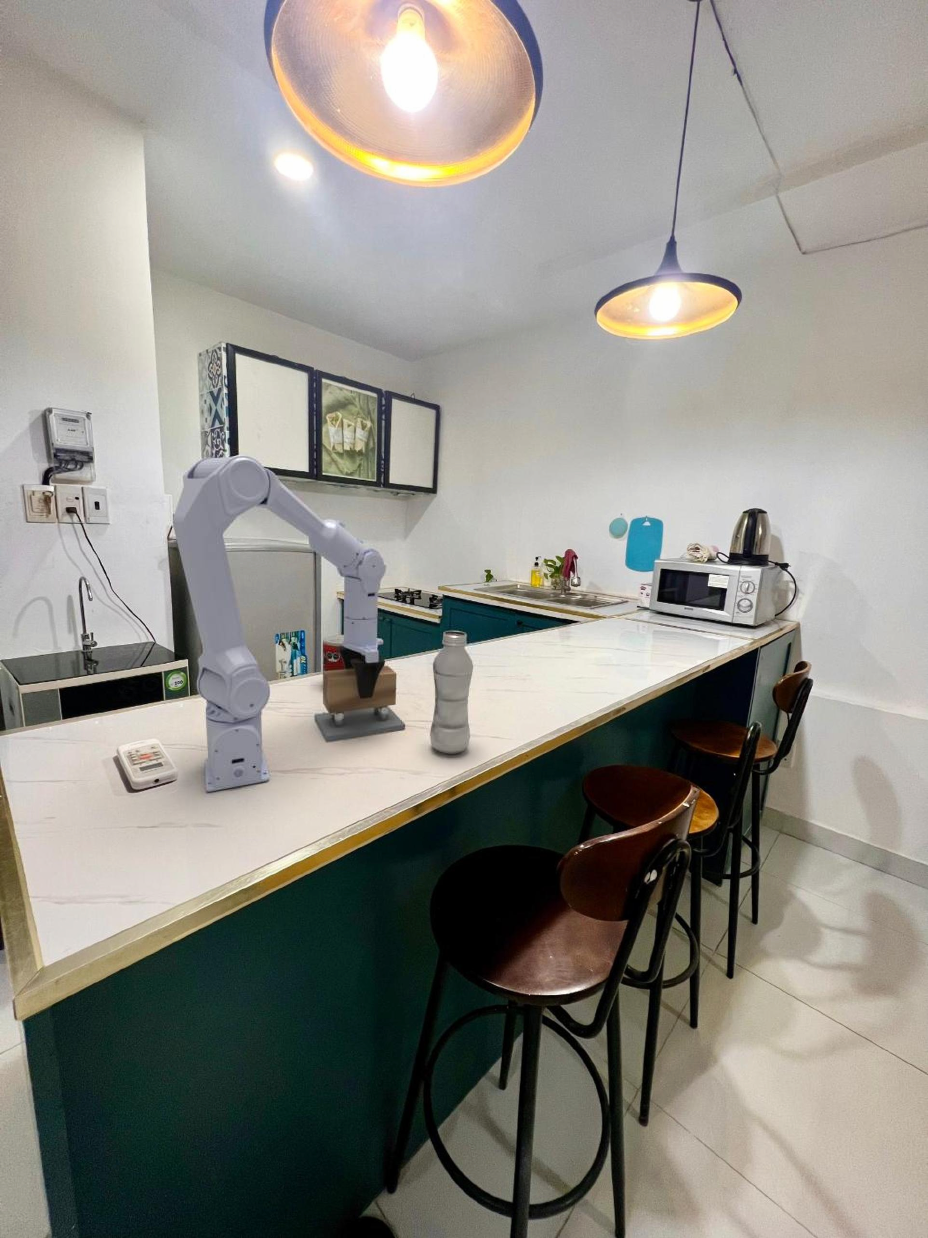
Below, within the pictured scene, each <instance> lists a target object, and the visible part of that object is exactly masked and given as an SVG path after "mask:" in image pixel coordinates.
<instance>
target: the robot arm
mask: <svg viewBox="0 0 928 1238" xmlns="http://www.w3.org/2000/svg"><path fill="white" fill-rule="evenodd" d="M182 481H183V487H182V489H181V493H180V496H179V500H178V502H177V505H176V508H175V511H174V514H173V516H172V517H173V518H172V524H173V525H172V526H173V530H174V535H175V539H176V543H177V546H178V551H179V555H180V559H181V563H182V568H183V572H184V576H185V579H186V583H187V588H188V592H189V596H190V597H189V598H190V601H191V605H192V609H193V613H194V617H195V621H196V625H197V630H198V633H199V637H200V642H201V647H202V653H201V655H200V656H199V657H198V659H197V663H198V669H199V671H198V676H197V680H196V689H197V692H198V694H199V696H200V697H201V698H202V699H204V700H205V701H206V707H205V724H206V725H205V726H206V729H205V730H206V741H207V742H206V745H207V757H206V758H205V760H204V761H205V762H204V764H205V767H204V768H205V791H206V792H214V791H219V790H224V789H231V788H235V787H241V786H246V785H251V784H257V783H261V782H262V783H263V782H267V781H270V774H269V773H270V772H269V769H268V765H267V762H266V761H267V760H266V758H265V754H264V750H263V730H262V729H263V728H262V727H263V724H262V714H263V711H264V708H265V707H266V706H267V704H268V702H269V701H270V696H271V689H270V688H271V687H270V684H269V682H268V680H267V679H266V678H265V677H264V676H263V674H262V673H261V671H260V667H259V663H258V661H257V659H255V657H254V655H253V654H252V652H251V651H250V649H249V648H248V647H247V644H246V639H245V634H244V629H243V624H242V621H241V615H240V610H239V607H238V600H237V597H236V591H235V586H234V582H233V577H232V573H231V568H230V562H229V558H228V553H227V549H226V544H225V539H224V533H225V532H226V531H227V529H228V528H229V527H230V526H231V525H232V523H233V522H234V521H235V520H236V519H237V518H238V517H239V516H240V515H242V514H244V513H246V512H248V511H249V510H251V509H253V508H255V507H257V508H265V509H267V510H268V511H269V512H271V513H273V514H274V515H276V517H278V518H281V520H283V521H285V522H286V523H288V524H289V525H291V526H292V527H293V528H295V529H296V530H298V531H299V532H300V533H302V534H304V535H305V536H307V537H308V545H309V547H310V549H312V551H314V552H315V553H317V554H318V555H319V556H320V557H323V559H325V560H326V561H328V562H329V563H331V564H332V565H334V567H336V570H337V572H338V573H337V574H339V576H340V577H342V578H343V577H344V578H343V580H344V581H343V582H344V583H343V584H344V587H343V589H344V590H343V600H344V601H343V635H344V639H343V646H338V647H337V649H338V651H339V653H340V655H341V657H342V660H343V663H344V667H345V669H354V671H355V674H356V678H357V686H358V693H359V696H360V698H361V699H363V698H371V697H372V696H373V693H374V689H375V685H376V681H377V678H378V676H379V673H380V671H381V670H382V668H383V667H384V666H386V660H385V659H384V658H379V654H380V653H379V652H380V651H379V650H378V647H379V645H383V644H384V640H383V639H382V638H378V609H379V608H378V599H379V595H378V594H379V591H380V589H381V581H382V579H383V577H384V576H385V574H386V570H387V565H386V564H385V562H384V559H383V558H384V557H382V555H381V554H380V552H379V551H377V549H373V548H366V546H365V544H364V541H363V540H362V539H361V538H356V537H355V536H354V535H353V534H351V533H350V532H349V531H348V530H347V529H345V527H346V524H345V523H343V521H341V520H335V519H332V518H329V519H324V520H322V518H321V517H319V515H317V514H316V513H315V512H314V511H313V510H312V509H311V508H310V507H309V506H308V505H306V504H305V503H304V502H303V501H302V500H301V499H300V498H298V497H297V495H295V494H294V493H293V492H292V491H291V490H290V489H289V488H288V487H287V486H286V485H284V484H283V483H282V482H281V481H280V479H279V478H278V476H277V475H276V474H275V472H273V471H271V470H270V469H268V468H265V467H264V466H263V464H262V463H261V462H259V460H257V459H256V458H254V457H252V456H248V455H246V454H245V455H244V454H238V455H235V456H227V457H224V456H223V457H211V456H210V457H204V458H201V459H199V460H198V461H196V462H195V463H194V464H193V465H192V466H191V467H190V468H189V469H188V470H187V471H186V472H185V473H184V474H182Z"/></svg>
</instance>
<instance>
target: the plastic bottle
mask: <svg viewBox="0 0 928 1238" xmlns="http://www.w3.org/2000/svg"><path fill="white" fill-rule="evenodd" d="M467 636H468V635H467V633H466V632H464V631H459V630H447V631H444V632H443V636H442V643H441V644H442V645H443V647H442V648H441V649H440V651H438V653H437V655H436V656H435V657H434V659H433V662H432V673H433V682H434V709H433V717H432V722H431V726H430V731H429V739H430V744H431V745H432V747H433V749H434V750H436V751H437V752H439V753H443V754H450V755H452V754H459V753H462V752H464V751H465V750H466V748H468V746H469V744H470V740H471V739H470V738H471V732H470V731H471V730H470V729H471V728H470V724H469V696H470V695H469V694H470V686H471V681H472V677H473V672H474V671H473V670H474V664H473V660H472V658H471V656H470V654H469V653H468V651H467V650H466V649H465V648H466V646H467V644H468V643H467Z"/></svg>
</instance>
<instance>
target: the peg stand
mask: <svg viewBox="0 0 928 1238" xmlns="http://www.w3.org/2000/svg"><path fill="white" fill-rule="evenodd" d="M314 721H315V723H316V724H317V727H318V729H319V730H320V732H321V734H322V736H323V738H324V740H325V742H326V743H328V742H329V743H330V742H336V741H342V740H347V739H348V740H349V739H354V738H361V737H367V736H372V735H373V736H374V735H379V734H385V733H393V732H398V731H404V730H406V724H405V722H403V720H401V718H400V717H399V716H398V715H397V714H396V713H395V712H394V710H392V709H391V708H390V706H382V707H375V708H367V709H359V710H352V711H344V712H337V713H328V712H324V713H316V714H314Z"/></svg>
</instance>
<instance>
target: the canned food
mask: <svg viewBox="0 0 928 1238" xmlns="http://www.w3.org/2000/svg"><path fill="white" fill-rule="evenodd" d="M343 639H344V634H335V635H328V636H325V637H323V638H322V672H323V671H333V670H344V669H345V667H344V663H343V660H342V657H341V655H340V653H339V651H338V649H337V647H338V646H343Z"/></svg>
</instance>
